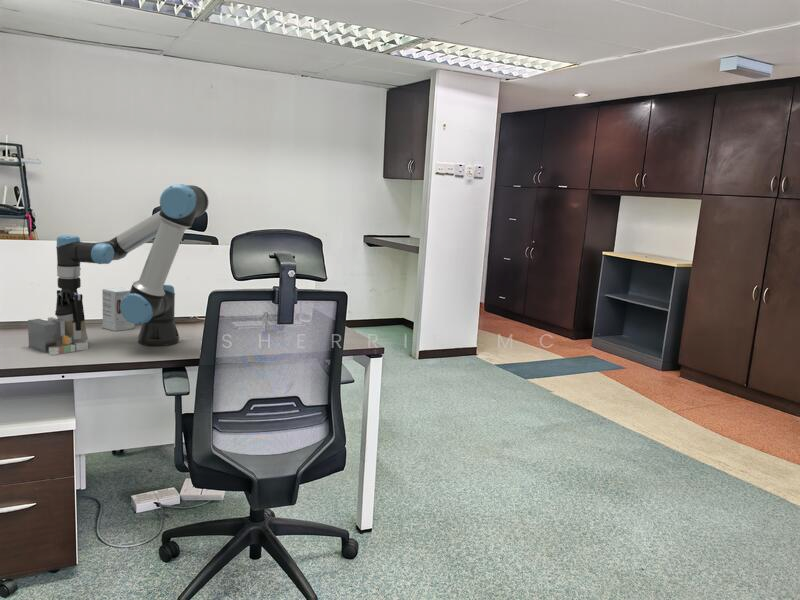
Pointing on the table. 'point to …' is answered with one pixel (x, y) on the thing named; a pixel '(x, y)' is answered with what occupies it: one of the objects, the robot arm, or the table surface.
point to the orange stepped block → (66, 340)
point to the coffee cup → (70, 322)
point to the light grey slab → (59, 330)
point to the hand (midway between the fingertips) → (70, 336)
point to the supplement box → (114, 309)
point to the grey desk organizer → (49, 338)
